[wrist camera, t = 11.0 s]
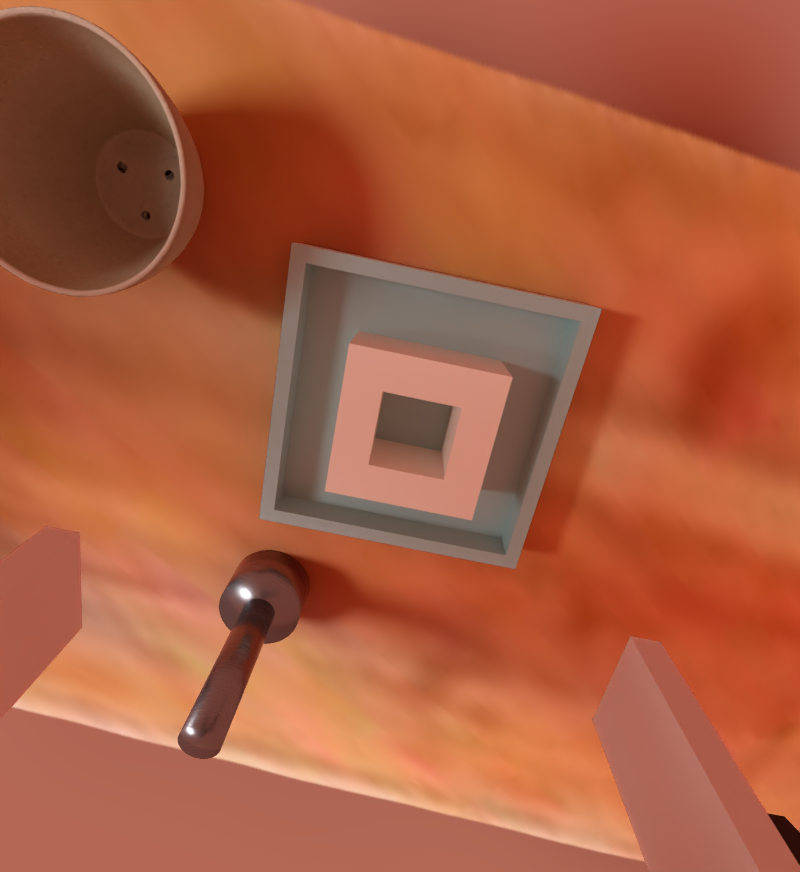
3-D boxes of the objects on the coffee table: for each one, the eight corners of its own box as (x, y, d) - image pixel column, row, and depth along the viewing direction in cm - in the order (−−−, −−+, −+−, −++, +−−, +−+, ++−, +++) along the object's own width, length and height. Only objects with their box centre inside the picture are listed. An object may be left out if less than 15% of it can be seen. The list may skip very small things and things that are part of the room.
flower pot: (284, 217, 27) (237, 205, 20) (144, 320, 29) (59, 342, 22) (157, 23, 24) (53, -67, 17) (12, 153, 26) (-129, 119, 19)
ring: (336, 461, 31) (324, 491, 27) (358, 330, 28) (348, 343, 24) (465, 487, 31) (471, 520, 27) (500, 360, 28) (512, 377, 24)
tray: (270, 499, 32) (259, 518, 30) (302, 243, 27) (291, 242, 25) (509, 547, 33) (515, 569, 31) (587, 304, 27) (602, 308, 25)
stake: (232, 604, 35) (144, 770, 24) (238, 544, 34) (146, 692, 22) (303, 618, 35) (248, 789, 24) (313, 558, 34) (258, 713, 22)
